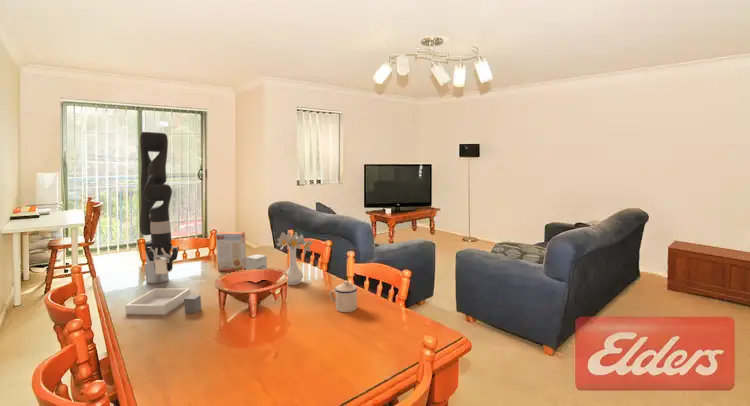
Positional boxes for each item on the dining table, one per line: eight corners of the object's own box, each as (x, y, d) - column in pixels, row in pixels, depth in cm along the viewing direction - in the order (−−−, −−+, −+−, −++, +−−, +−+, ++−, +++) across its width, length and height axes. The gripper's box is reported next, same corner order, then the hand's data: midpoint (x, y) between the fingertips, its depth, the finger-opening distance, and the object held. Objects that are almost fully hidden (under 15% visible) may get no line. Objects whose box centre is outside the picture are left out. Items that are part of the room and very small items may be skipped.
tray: (125, 314, 160) (125, 305, 160) (155, 296, 180) (155, 288, 179) (164, 315, 159) (164, 305, 159) (190, 297, 179) (189, 288, 179)
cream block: (155, 273, 170) (154, 260, 170) (161, 270, 175) (160, 257, 174) (166, 273, 170) (165, 260, 169) (171, 270, 174) (170, 257, 174)
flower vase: (307, 288, 190) (305, 236, 186) (272, 285, 194) (270, 234, 191) (317, 280, 202) (316, 231, 199) (284, 277, 207) (282, 229, 203)
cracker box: (247, 268, 223) (245, 231, 220) (242, 271, 217) (240, 233, 214) (223, 268, 224) (221, 231, 222) (217, 271, 218) (215, 233, 216)
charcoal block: (185, 313, 162) (184, 298, 161) (190, 308, 166) (189, 294, 165) (195, 313, 161) (194, 298, 161) (201, 308, 166) (200, 294, 165)
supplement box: (256, 284, 197) (255, 258, 195) (246, 281, 201) (245, 256, 199) (267, 279, 203) (266, 255, 201) (257, 277, 207) (256, 253, 205)
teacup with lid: (360, 305, 168) (360, 278, 166) (352, 314, 159) (352, 285, 158) (334, 302, 172) (333, 276, 170) (325, 310, 163) (324, 282, 162)
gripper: (181, 229, 174) (184, 268, 176) (149, 229, 174) (152, 267, 176) (172, 233, 166) (175, 273, 168) (138, 233, 167) (142, 273, 169)
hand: (163, 270), depth 172 cm, fingers closed on cream block, 4 cm apart
